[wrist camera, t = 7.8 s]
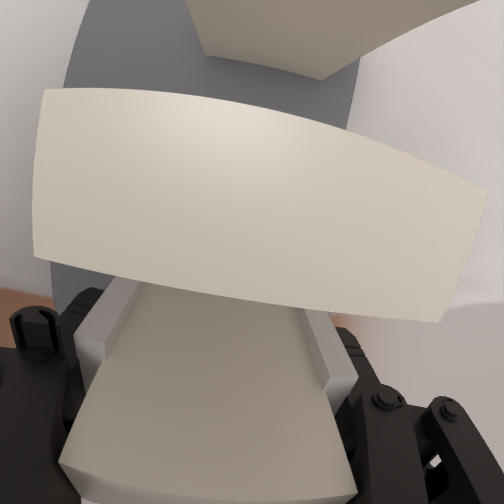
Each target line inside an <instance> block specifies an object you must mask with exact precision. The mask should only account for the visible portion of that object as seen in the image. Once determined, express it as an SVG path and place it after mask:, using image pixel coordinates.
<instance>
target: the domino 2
mask: <svg viewBox="0 0 504 504" xmlns="http://www.w3.org/2000/svg"><path fill="white" fill-rule="evenodd" d="M487 196H488V191H486V190H485V189H483V188H481V187H479V186H477V185H475V184H473V183H471V182H470V181H468V180H466V179H464V178H462V177H460V176H458V175H456V174H454V173H452V172H450V171H447V170H445V169H443V168H441V167H439V166H437V165H435V164H432V163H430V162H428V161H426V160H423V159H421V158H419V157H416V156H414V155H412V154H409V153H407V152H404V151H402V150H399V149H397V148H394V147H392V146H389V145H387V144H384V143H381V142H378V141H376V140H373V139H370V138H367V137H365V136H362V135H359V134H356V133H353V132H350V131H347V130H344V129H341V128H337V127H334V126H331V125H328V124H324V123H321V122H317V121H314V120H310V119H307V118H303V117H299V116H295V115H291V114H287V113H283V112H279V111H275V110H271V109H266V108H262V107H257V106H252V105H247V104H242V103H237V102H232V101H226V100H220V99H214V98H208V97H201V96H194V95H187V94H179V93H170V92H160V91H149V90H135V89H116V88H57V89H44V94H43V99H42V104H41V110H40V116H39V122H38V129H37V136H36V145H35V155H34V167H33V184H32V237H33V254H34V257H37V258H41V259H45V260H49V261H53V262H57V263H61V264H65V265H70V266H74V267H78V268H82V269H87V270H91V271H96V272H100V273H105V274H109V275H114V276H119V277H123V278H128V279H133V280H138V281H143V282H148V283H153V284H158V285H163V286H168V287H174V288H179V289H184V290H190V291H195V292H201V293H207V294H213V295H218V296H224V297H230V298H237V299H243V300H249V301H256V302H262V303H269V304H276V305H282V306H290V307H297V308H304V309H312V310H319V311H327V312H335V313H344V314H352V315H361V316H371V317H380V318H390V319H402V320H413V321H425V322H437V323H440V321H441V319H442V317H443V315H444V313H445V311H446V309H447V307H448V305H449V302H450V300H451V298H452V296H453V294H454V291H455V289H456V287H457V284H458V282H459V280H460V277H461V275H462V272H463V270H464V267H465V264H466V262H467V259H468V257H469V254H470V251H471V248H472V245H473V243H474V240H475V237H476V234H477V230H478V227H479V224H480V221H481V218H482V214H483V211H484V207H485V203H486V200H487Z"/></svg>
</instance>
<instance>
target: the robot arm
mask: <svg viewBox="0 0 504 504" xmlns="http://www.w3.org/2000/svg"><path fill="white" fill-rule="evenodd" d="M145 284H146V282H143V281H138V280H133V279H128V278H123V277H119V276H116V277H115V278H114V279H113V281H112V282H111V283H110V285H109V286H108V287H107V289H106V290H102V289H98V288H94V287H89V288H87V289H85V290H83V291H82V292H80V293H78V294H77V296H76V297H75V298H74V299H73V300H72V301H71V303H70V304H69V305H68V306H67V307H66V309H65V311H63V312H62V313H61V315H60V316H59V315H58V313H57V312H55V311H54V310H52V309H51V308H47V307H43V306H30V307H25V308H22V309H20V310H18V311H17V312H15V313H14V314H13V315H12V316H11V317H10V318H9V321H10V324H11V329H12V332H13V336H14V340H15V343H16V347H17V348H6V347H0V504H81V496H80V494H79V493H78V492H77V490H76V489H75V487H74V486H73V484H72V483H71V481H70V480H69V478H68V477H67V475H66V474H65V472H64V471H63V469H62V467H61V466H60V464H59V463H58V461H59V458H60V456H61V453H62V450H63V448H64V445H65V443H66V440H67V438H68V436H69V433H70V431H71V428H72V426H73V424H74V421H75V419H76V417H77V414H78V412H79V410H80V407H81V405H82V403H83V401H84V399H85V396H86V394H87V392H88V390H89V388H90V386H91V383H92V381H93V379H94V377H95V375H96V373H97V371H98V369H99V367H100V365H101V363H102V361H103V359H105V360H106V358H107V356H108V354H109V352H110V350H111V348H112V346H113V344H114V342H115V340H116V338H117V336H118V334H119V332H120V330H121V328H122V326H123V324H124V322H125V321H126V319H127V317H128V315H129V313H130V311H131V309H132V307H133V305H134V304H135V302H136V300H137V298H138V296H139V294H140V293H141V291H142V289H143V287H144V285H145ZM295 309H296V312H297V315H298V318H299V321H300V324H301V327H302V330H303V333H304V336H305V339H306V342H307V345H308V348H309V351H310V354H311V357H312V360H313V363H314V366H315V369H316V372H317V375H318V378H319V381H320V384H321V387H322V390H323V391H325V392H326V395H327V398H328V401H329V404H330V407H331V410H332V413H333V416H334V419H335V422H336V425H337V428H338V431H339V434H340V437H341V440H342V443H343V446H344V450H345V453H346V456H347V459H348V462H349V465H350V469H351V472H352V475H353V478H354V481H355V485H356V488H357V491H358V493H357V494H356V495H355V496H354V497H353V498H352V499H350V500H349V501H348V502H347V503H345V504H504V473H503V472H502V470H501V468H500V466H499V464H498V463H497V461H496V459H495V457H494V456H493V454H492V452H491V451H490V449H489V447H488V446H487V444H486V443H485V441H484V439H483V438H482V436H481V435H480V433H479V431H478V430H477V428H476V427H475V425H474V424H473V422H472V421H471V419H470V418H469V416H468V414H467V413H466V412H465V410H464V409H463V407H462V406H461V405H460V404H459V403H457V402H456V401H455V400H454V399H451V398H449V397H446V396H439V397H436V398H434V399H433V401H432V402H431V403H430V405H429V406H428V408H424V407H419V406H413V405H408V404H407V403H406V401H405V399H404V397H403V396H402V395H401V394H400V393H399V392H398V391H397V390H395V389H393V388H392V387H390V386H387V385H384V384H381V383H380V381H379V379H378V378H377V376H376V374H375V372H374V370H373V368H372V366H371V364H370V363H369V361H368V359H367V357H365V354H364V352H363V350H362V349H361V346H360V344H359V343H358V341H357V339H356V337H355V336H354V335H353V334H351V333H350V332H349V331H348V330H347V329H346V328H341V327H334V325H333V323H332V321H331V319H330V317H329V315H328V313H327V311H319V310H312V309H304V308H297V307H295ZM437 455H439V457H440V458H441V462H440V463H439V464H438V465H437V466H436V467H433V466H432V465H431V464H430V461H431V460H432V459H433V458H435V457H436V456H437Z"/></svg>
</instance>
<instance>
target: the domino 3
mask: <svg viewBox="0 0 504 504" xmlns="http://www.w3.org/2000/svg"><path fill="white" fill-rule="evenodd" d="M58 463H59V464H60V466H61V467H62V469H63V471H64V472H65V474H66V475H67V477H68V478H69V480H70V481H71V483H72V484H73V486H74V487H75V489H76V490H77V492H78V493H79V494H80V496H81V497H82V498H84V499H87V500H89V501H92V502H95V503H99V504H345V503H347V502H348V501H349V500H350V499H352V498H353V497H354V496H355V495H356V494H357V493H358V491H357V488H356V485H355V481H354V478H353V475H352V472H351V469H350V465H349V462H348V459H347V456H346V453H345V450H344V446H343V443H342V440H341V437H340V434H339V431H338V428H337V425H336V422H335V419H334V416H333V413H332V410H331V407H330V404H329V401H328V398H327V395H326V392H325V391H323V390H322V387H321V384H320V381H319V378H318V375H317V372H316V369H315V366H314V363H313V360H312V357H311V354H310V351H309V348H308V345H307V342H306V339H305V336H304V333H303V330H302V327H301V324H300V321H299V318H298V315H297V312H296V309H295V307H290V306H282V305H276V304H269V303H262V302H256V301H249V300H243V299H237V298H230V297H224V296H218V295H213V294H207V293H201V292H195V291H190V290H184V289H179V288H174V287H168V286H163V285H158V284H153V283H148V282H146V284H145V285H144V287H143V289H142V291H141V293H140V294H139V296H138V298H137V300H136V302H135V304H134V305H133V307H132V309H131V311H130V313H129V315H128V317H127V319H126V321H125V322H124V324H123V326H122V328H121V330H120V332H119V334H118V336H117V338H116V340H115V342H114V344H113V346H112V348H111V350H110V352H109V354H108V356H107V358H106V360H105V359H103V361H102V363H101V365H100V367H99V369H98V371H97V373H96V375H95V377H94V379H93V381H92V383H91V386H90V388H89V390H88V392H87V394H86V396H85V399H84V401H83V403H82V405H81V407H80V410H79V412H78V414H77V417H76V419H75V421H74V424H73V426H72V428H71V431H70V433H69V436H68V438H67V440H66V443H65V445H64V448H63V450H62V453H61V456H60V458H59V461H58Z"/></svg>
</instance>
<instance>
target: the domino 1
mask: <svg viewBox="0 0 504 504" xmlns="http://www.w3.org/2000/svg"><path fill="white" fill-rule="evenodd" d="M185 1H186V4H187V7H188V9H189V12H190V15H191V18H192V21H193V23H194V26H195V29H196V32H197V35H198V37H199V40H200V43H201V46H202V49H203V52H204V54H205V55H206V56H213V57H220V58H226V59H232V60H238V61H243V62H249V63H254V64H259V65H263V66H268V67H272V68H276V69H281V70H285V71H289V72H292V73H296V74H300V75H304V76H307V77H311V78H314V79H317V80H321V81H322V80H324V79H325V78H327V77H329V76H330V75H332V74H333V73H335V72H337V71H338V70H340V69H342V68H343V67H345V66H347V65H348V64H350V63H352V62H353V61H355V60H357V59H358V58H360V57H362V56H364V55H365V54H367V53H369V52H371V51H372V50H374V49H376V48H378V47H380V46H381V45H383V44H385V43H387V42H389V41H391V40H393V39H395V38H397V37H398V36H400V35H402V34H404V33H406V32H408V31H410V30H412V29H414V28H416V27H418V26H421V25H423V24H425V23H427V22H429V21H431V20H433V19H436V18H438V17H440V16H442V15H445V14H447V13H449V12H451V11H454V10H456V9H459V8H461V7H464V6H466V5H469V4H471V3H474V2H476V1H479V0H185Z"/></svg>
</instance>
